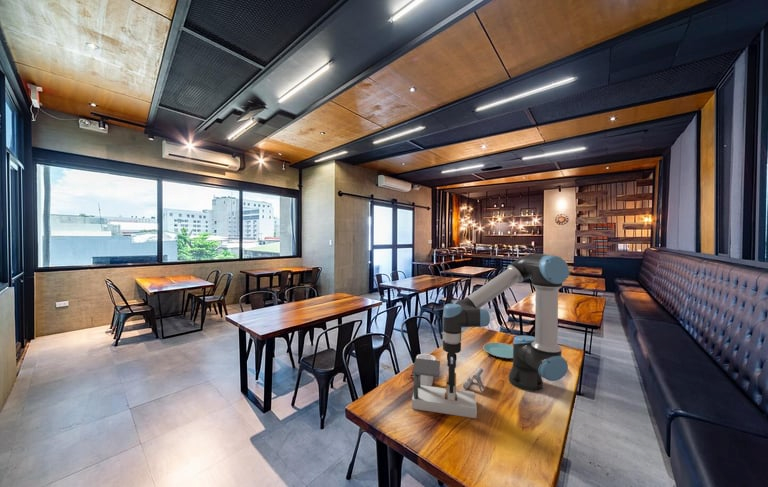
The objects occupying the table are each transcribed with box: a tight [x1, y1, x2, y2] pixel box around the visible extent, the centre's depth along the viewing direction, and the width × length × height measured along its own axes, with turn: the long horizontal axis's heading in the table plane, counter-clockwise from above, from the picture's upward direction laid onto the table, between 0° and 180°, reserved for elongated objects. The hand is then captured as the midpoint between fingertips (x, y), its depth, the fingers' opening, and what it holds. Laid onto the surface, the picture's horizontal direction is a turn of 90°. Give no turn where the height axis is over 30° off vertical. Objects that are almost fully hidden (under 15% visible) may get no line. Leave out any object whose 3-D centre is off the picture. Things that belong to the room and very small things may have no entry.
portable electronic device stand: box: [462, 367, 485, 392], centre depth 134 cm, size 9×8×8 cm
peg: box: [445, 371, 457, 401], centre depth 119 cm, size 4×4×14 cm
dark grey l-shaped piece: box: [411, 357, 441, 399], centre depth 122 cm, size 11×13×12 cm
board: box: [411, 385, 478, 419], centre depth 120 cm, size 26×12×4 cm, turn 77°
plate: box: [482, 342, 513, 360], centre depth 174 cm, size 22×22×3 cm
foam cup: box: [415, 353, 437, 387], centre depth 137 cm, size 10×9×13 cm
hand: (451, 390), depth 119 cm, fingers open, 12 cm apart
